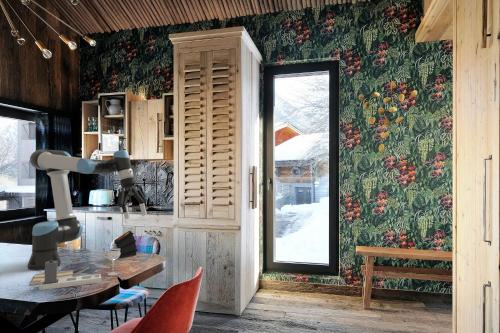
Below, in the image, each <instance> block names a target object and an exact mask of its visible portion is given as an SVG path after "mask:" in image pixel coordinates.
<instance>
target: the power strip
mask: <svg viewBox="0 0 500 333" xmlns="http://www.w3.org/2000/svg"><path fill="white" fill-rule="evenodd" d="M44 282H45V280H43V281H41V282H40V285H38V291H45V290H51V289H52V290H54V289H58V288H59V289H60V288H68V287H76V286H83V285H92V284H100V283H102V274H101V273H96V274H95V273H94V274H88V275H87V274H86V275H79V276H72V277H68V278H60V279H57V283H51V284H44Z"/></svg>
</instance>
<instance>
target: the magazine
mask: <svg viewBox="0 0 500 333" xmlns="http://www.w3.org/2000/svg"><path fill="white" fill-rule="evenodd" d="M136 242H137V240H136V239H135V236H134V232H133V231H132V230H128V231H127V232H125V233H124V234H122V235H120V236H119V237H117V238H116V239H114V242H113V243H114V244H115V245H116V248H119V249H120V253H121V254H120V257H119V258H118V259H122V258H129V257H133V256H136V255H137V252H138V249H137V244H136Z"/></svg>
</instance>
